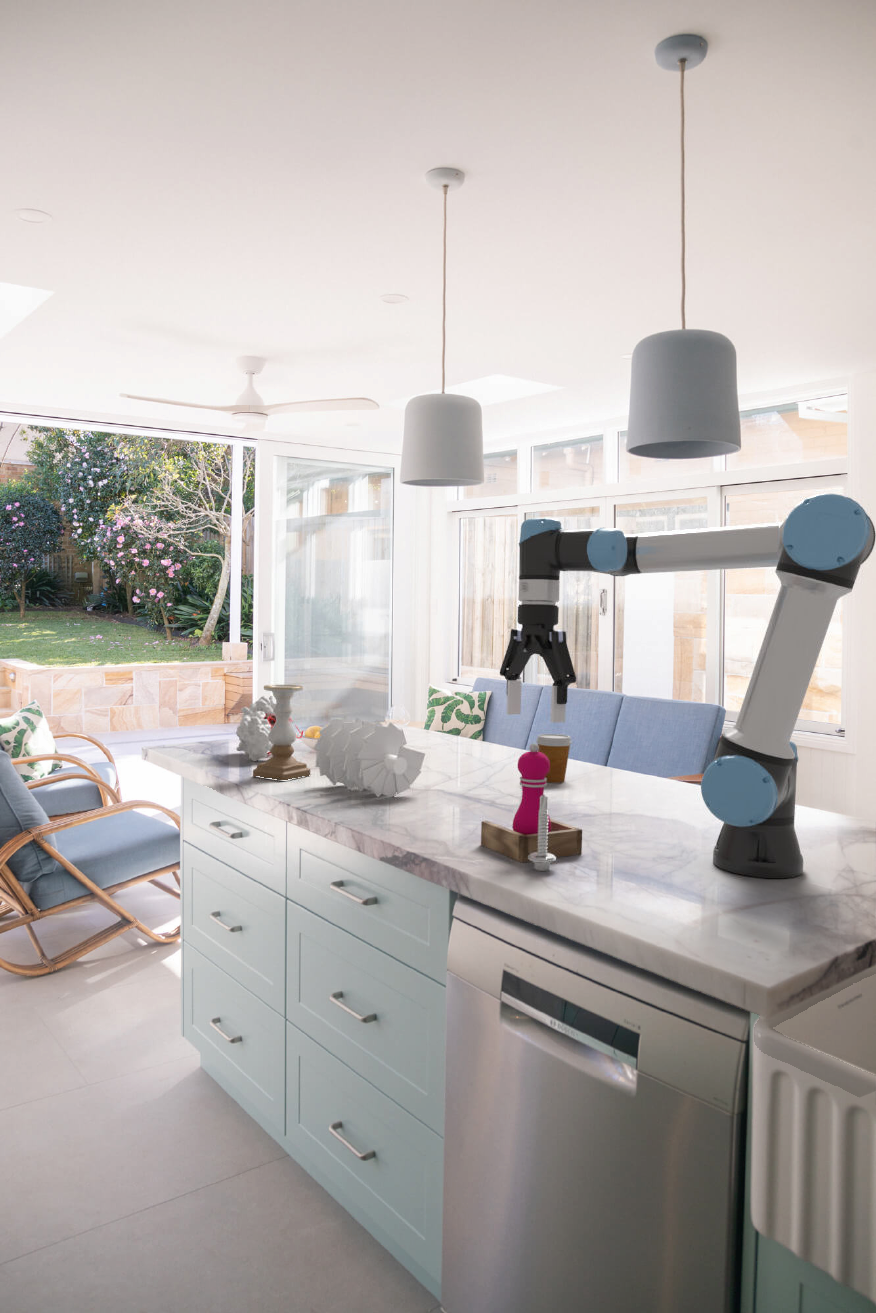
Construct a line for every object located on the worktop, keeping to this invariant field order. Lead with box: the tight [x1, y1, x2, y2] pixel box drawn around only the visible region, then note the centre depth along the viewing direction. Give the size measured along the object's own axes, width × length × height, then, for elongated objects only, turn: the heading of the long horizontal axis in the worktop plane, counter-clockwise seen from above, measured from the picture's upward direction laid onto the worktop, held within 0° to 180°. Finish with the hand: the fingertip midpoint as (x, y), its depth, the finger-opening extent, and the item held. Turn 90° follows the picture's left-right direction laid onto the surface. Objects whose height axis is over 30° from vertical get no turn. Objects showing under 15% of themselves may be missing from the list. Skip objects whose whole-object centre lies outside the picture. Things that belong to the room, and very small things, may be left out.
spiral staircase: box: [313, 714, 426, 798], centre depth 217 cm, size 18×18×25 cm
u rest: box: [480, 818, 583, 864], centre depth 166 cm, size 13×13×4 cm
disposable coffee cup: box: [535, 733, 573, 784], centre depth 237 cm, size 10×10×12 cm
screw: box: [528, 794, 557, 872], centre depth 153 cm, size 13×5×5 cm
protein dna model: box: [235, 695, 304, 762], centre depth 264 cm, size 20×18×25 cm
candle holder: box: [252, 684, 311, 780], centre depth 233 cm, size 11×11×24 cm
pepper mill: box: [512, 742, 551, 835], centre depth 165 cm, size 7×7×20 cm
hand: (534, 718), depth 165 cm, fingers open, 13 cm apart
